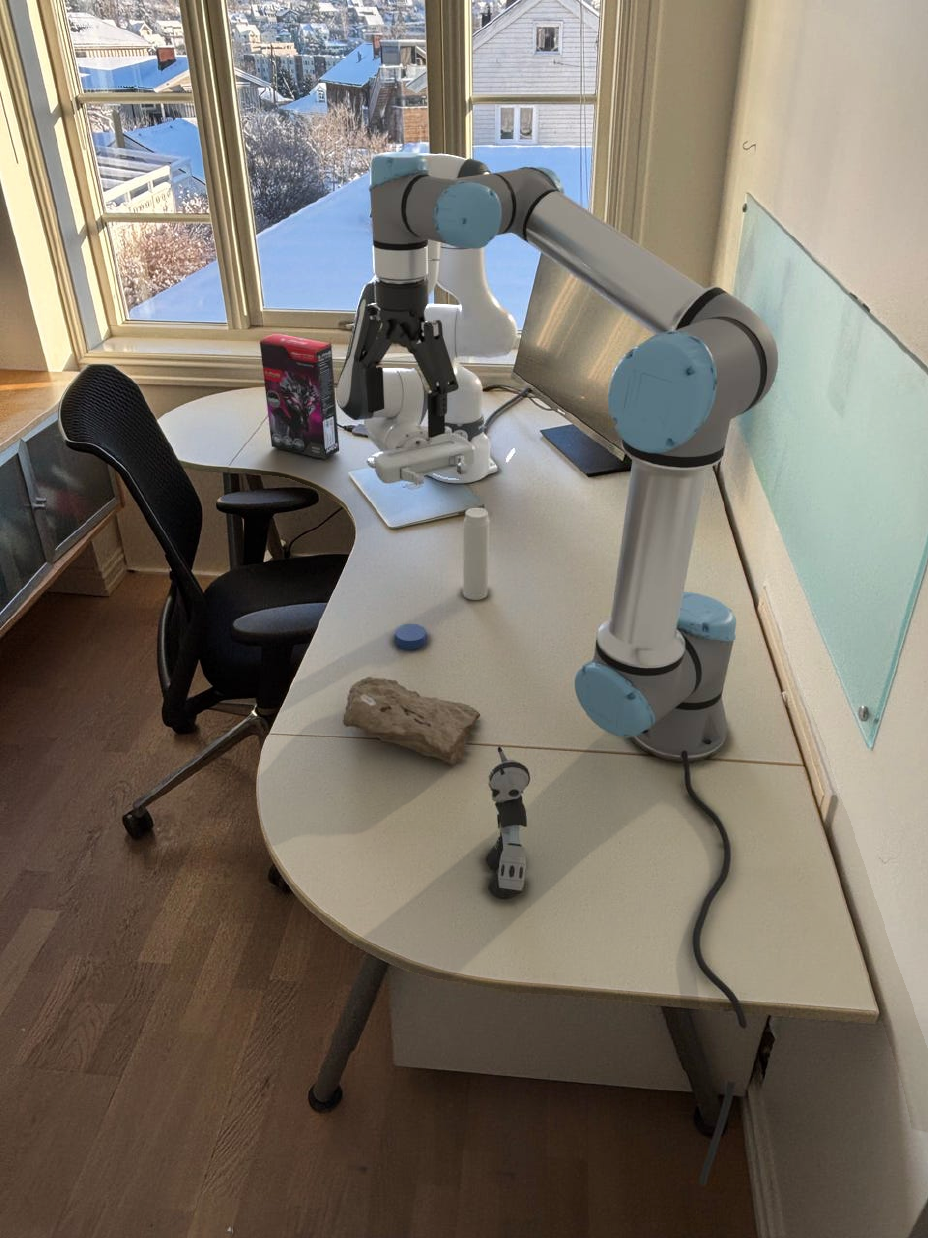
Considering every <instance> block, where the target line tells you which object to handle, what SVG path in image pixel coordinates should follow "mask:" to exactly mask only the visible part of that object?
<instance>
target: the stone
mask: <svg viewBox="0 0 928 1238" xmlns="http://www.w3.org/2000/svg"><path fill="white" fill-rule="evenodd" d="M480 717H481V713H480V712H479V711H478V710H477V709H475V708H474V707H472V706H470V705H469V704H466V703H462V702H455V701H449V700H443V699H439V698H438V697H427V696H422V695H420V694H419V693H418V692H417V691H416V690H408V688H406V687H405V686H403V685H402V684H400V683H399V682H398V681H397V680H396V679H388V678H384V677H382V678H381V677H380V678H379V677H373V676H367V677H365V678H362V679H360V680H359V681H356V682H355V683H354V684H353V685H351V687H350V689H349V692H348V694H347V704H346V706H345V713H344V715H343V719H342V724H343V726H345V727H346V728H348V727H353V728H354V727H355V728H357V729H360V730H362V731H363V732H364V733H365V735H367V736H368V737H373V738H379V739H380V740H381V741H384V742H388V743H394V744H396V745H399V746H401V747H402V748H407V749H411V750H413V751H415V752H417V753H419V754H421V755H423V756H425V757H431V758H432V757H434V758H437V759H440V760H441V761H443V762H444V763H446V764H449V765H451V766H452V765H455V764H457V763H460V761H461V759H462V758H463V755H464V753H465V751H466V748H467V741H468V739H469V737H470V734H471V733H472V731H473V728H474V727H475V725H476V722H477V720H478V719H479V718H480Z"/></svg>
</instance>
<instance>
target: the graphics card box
mask: <svg viewBox="0 0 928 1238" xmlns="http://www.w3.org/2000/svg"><path fill="white" fill-rule="evenodd" d="M259 348H260V356H261V357H260V358H261V364H262V365H261V366H262V373H263V382H264V391H265V398H266V399H265V400H266V409H267V416H268V417H267V418H268V425H269V434H270V444H271V448H272V447H273V448H276V449H280V450H285V451H289V452H293V453H298V454H302V455H306V456H309V457H313V458H314V457H315V458H318V459H322V460H326V459H328V458H329V457H331V456H333V455H334V454H336V453H338V452H339V451H340V443H339V441H340V440H339V431H338V430H339V429H338V414H337V400H336V390H335V389H336V388H335V376H334V364H333V363H334V362H333V350H332V349H333V345H332V343H331V342H324V341H318V340H314V339H313V340H312V339H307V338H302V337H297V336H292V335H286V334H281V333H272V334H269V335H266V336H265V337H264V338H262V339H261V340H259Z"/></svg>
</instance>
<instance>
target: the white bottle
mask: <svg viewBox="0 0 928 1238" xmlns="http://www.w3.org/2000/svg"><path fill="white" fill-rule="evenodd" d="M464 516H465V517H464V518H463V558H462V559H463V561H462V562H463V563H462V564H463V566H462V567H463V568H462V569H463V571H462V573H463V574H462V575H463V576H462V579H463V580H462V594H463V596H464V597H465V598H466V599H468V600H470V601H471V600H472V601H480V600H483V599H485V598H487V596H488V588H489V587H488V584H489V581H488V580H489V550H490V549H489V545H490V544H489V543H490V519H489V512H488V510H486V508H483V507H469V508H468V509H466V511H465V513H464Z"/></svg>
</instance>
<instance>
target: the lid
mask: <svg viewBox="0 0 928 1238" xmlns="http://www.w3.org/2000/svg"><path fill="white" fill-rule="evenodd" d="M427 635H428V634H427V630H426V628H425V627H424V626H423V625H421V624H418V623H405V624H404V623H403V624H402V625H400V626H398V627H397V628H396V629H395V633H394V641H395V644H396V646H398V647H399V648H401V649H404V650H409V651H411V650H418V649H421V648H422V647H424V646H425V645H426V644H427V640H428V636H427Z"/></svg>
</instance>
